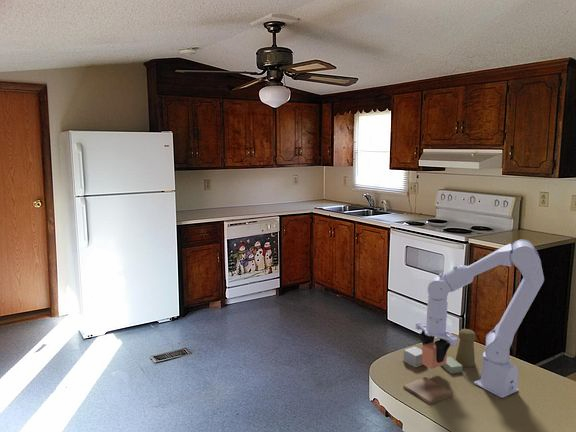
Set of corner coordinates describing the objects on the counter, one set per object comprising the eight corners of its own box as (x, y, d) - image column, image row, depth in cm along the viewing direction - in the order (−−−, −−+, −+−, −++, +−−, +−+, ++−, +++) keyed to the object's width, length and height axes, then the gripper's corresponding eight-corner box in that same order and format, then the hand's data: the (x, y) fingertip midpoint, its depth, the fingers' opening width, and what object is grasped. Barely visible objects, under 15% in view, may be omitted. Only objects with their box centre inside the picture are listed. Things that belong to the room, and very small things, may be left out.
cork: (471, 368, 150) (474, 336, 148) (452, 363, 153) (454, 331, 151) (477, 361, 154) (480, 329, 152) (458, 356, 158) (460, 325, 156)
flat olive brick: (462, 372, 148) (462, 365, 147) (450, 374, 147) (451, 367, 146) (449, 363, 154) (450, 356, 153) (439, 364, 153) (439, 357, 152)
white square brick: (426, 363, 153) (426, 352, 152) (415, 367, 150) (415, 356, 150) (414, 357, 157) (414, 346, 156) (403, 361, 154) (404, 349, 154)
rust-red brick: (446, 363, 145) (447, 345, 144) (431, 369, 142) (432, 350, 141) (435, 358, 149) (437, 340, 148) (421, 363, 145) (422, 345, 144)
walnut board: (452, 395, 134) (452, 392, 134) (429, 404, 130) (430, 401, 130) (425, 379, 143) (425, 377, 143) (403, 387, 138) (403, 385, 138)
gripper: (409, 311, 147) (407, 352, 149) (447, 327, 135) (444, 371, 137) (425, 307, 150) (423, 347, 153) (463, 322, 138) (460, 365, 141)
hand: (434, 358), depth 145 cm, fingers closed on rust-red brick, 4 cm apart
